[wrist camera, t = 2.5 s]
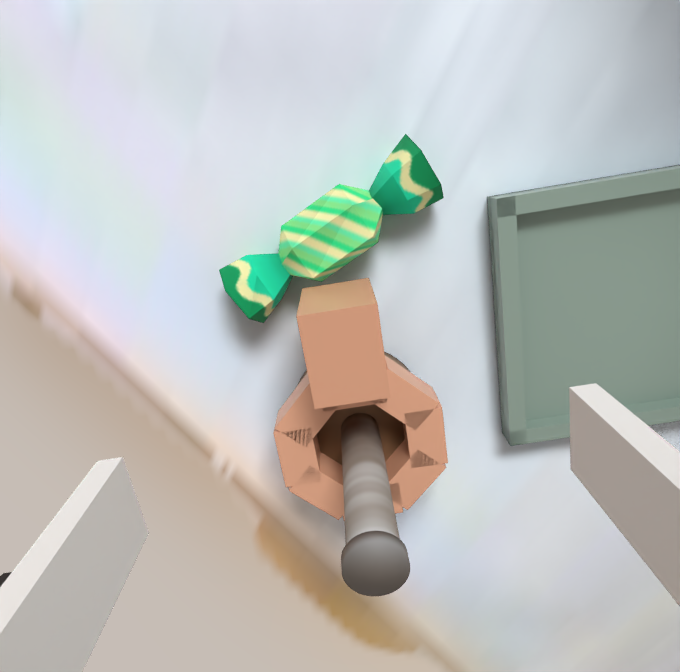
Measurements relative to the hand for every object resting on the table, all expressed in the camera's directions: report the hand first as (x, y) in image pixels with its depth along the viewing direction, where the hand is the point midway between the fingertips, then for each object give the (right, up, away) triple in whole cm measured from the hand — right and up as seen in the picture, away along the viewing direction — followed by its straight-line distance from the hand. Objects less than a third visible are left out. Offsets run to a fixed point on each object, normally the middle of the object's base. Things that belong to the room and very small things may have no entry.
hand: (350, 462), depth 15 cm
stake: (+1, -1, +17) cm, 17 cm away
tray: (+19, +6, +15) cm, 25 cm away
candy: (-1, +10, +14) cm, 17 cm away
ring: (+1, 0, +14) cm, 14 cm away
